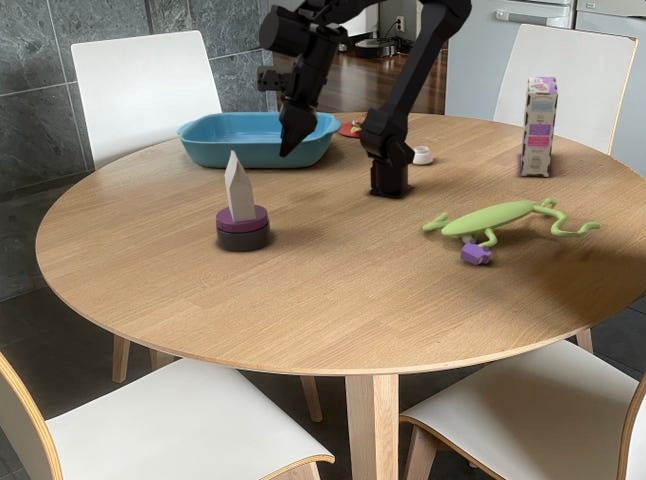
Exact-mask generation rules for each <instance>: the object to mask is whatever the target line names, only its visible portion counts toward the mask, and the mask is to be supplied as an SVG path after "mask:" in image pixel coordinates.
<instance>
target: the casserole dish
mask: <svg viewBox="0 0 646 480" xmlns="http://www.w3.org/2000/svg"><path fill="white" fill-rule="evenodd" d="M279 113H280V111H235V112H234V111H233V112H231V111H230V112H229V111H228V112H217V113H211V114H207V115H204V116H201V117H200V118H197V119H195V120H191V121H188V122H186V123H184V124H182V125H181V126H180V127H179V128H178V129H177V130H176V133H177V135H179V139H180V141H181V144H182V145H183V147H184V149H185V151H186V153H187V154H188V156H189V157H190V159H191V160H192V161H193V162H194V163H196V164H198V165H200V166H202V167H205V168H219V169H220V168H221V169H227V166H228V163H229V160H230V156H231V150H232V151H233V150H234V152H235V154H236V157H237V159H238V161H239V162H240V164H241V165H242V167H243V168H244V169H251V168H253V169H296V168H305V167H306V168H307V167H309V166H312V165H314V164H316V163H317V162H318V161H319V160H320V159H321V158H322V157H323V155H324V154H325V153H326V151H327V150H328V148H329V146H330V144H331V142H332V138H333V134H336V133H338V132H337V131H339V130H340V128H341V126H342V124H343V123H342V122H341V121H340V120H338V119H336V116H335V115H334V114H332V113H328V112H320V111H319V112H318V111H316V113H317V116H318V123H317V126H316V128H315V131H314V132H312V133H311V134H310V135H308V136H307V137H306V138H305V139H304V140H303V141H302V142H301V143H300V144H299V145H297V147H295V148H294V149H293V150H292V151H291V152H290V153H289V154H288V155H287V156H286V157H285V158H283V157H280V156H279V152H280V146H281V140H282V139H281V138H280V136H281V129H282V124H281V123H280V122H279Z"/></svg>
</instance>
